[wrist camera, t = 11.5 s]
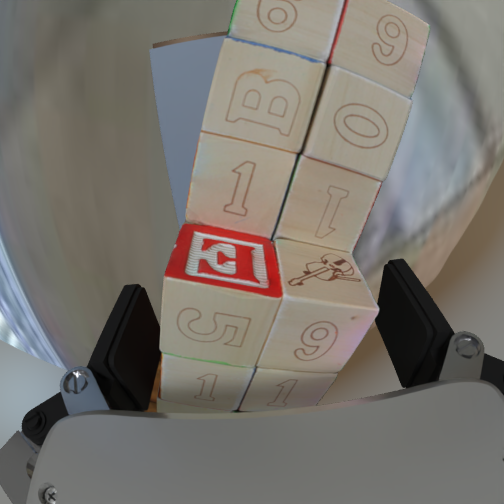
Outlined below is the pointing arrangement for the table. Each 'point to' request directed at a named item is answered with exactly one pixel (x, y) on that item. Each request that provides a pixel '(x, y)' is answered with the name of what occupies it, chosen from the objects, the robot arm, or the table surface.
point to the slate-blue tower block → (183, 106)
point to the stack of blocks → (284, 203)
